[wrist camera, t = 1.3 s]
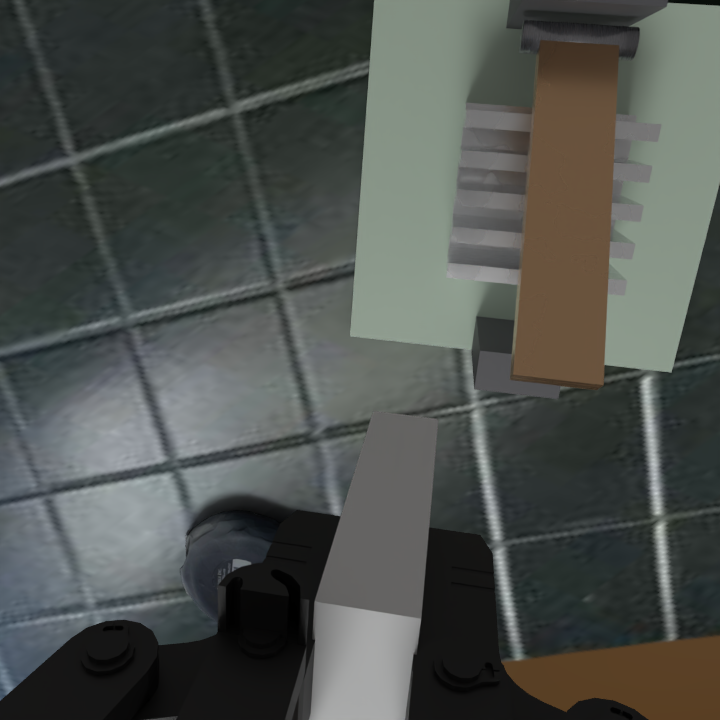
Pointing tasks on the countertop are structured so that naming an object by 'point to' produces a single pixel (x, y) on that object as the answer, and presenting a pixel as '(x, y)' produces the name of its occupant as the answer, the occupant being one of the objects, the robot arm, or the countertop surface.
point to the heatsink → (522, 193)
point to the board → (515, 88)
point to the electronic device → (223, 553)
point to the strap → (568, 202)
